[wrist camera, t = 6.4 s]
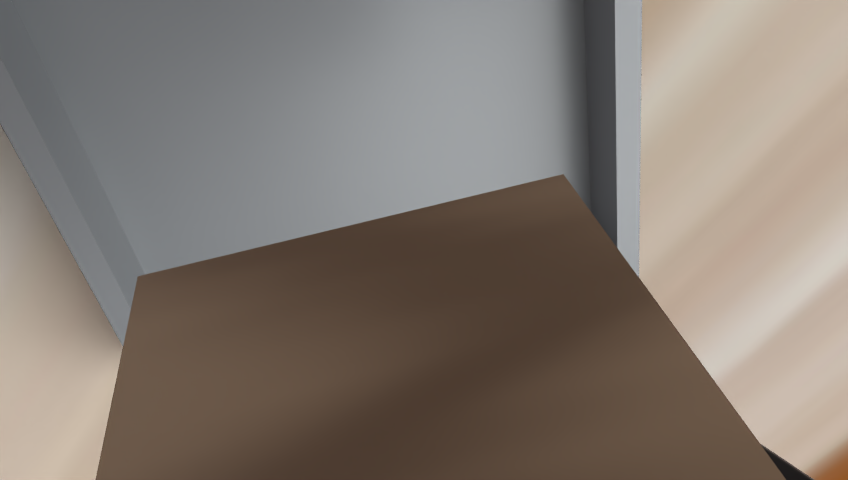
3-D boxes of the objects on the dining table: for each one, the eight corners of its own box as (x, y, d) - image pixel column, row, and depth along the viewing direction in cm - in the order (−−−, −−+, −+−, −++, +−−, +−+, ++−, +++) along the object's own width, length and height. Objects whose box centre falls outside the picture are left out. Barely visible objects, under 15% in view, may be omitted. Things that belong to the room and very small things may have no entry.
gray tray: (592, -282, 15) (644, -284, 13) (604, 247, 22) (638, 296, 20) (-83, -145, 14) (-136, -125, 12) (170, 357, 22) (162, 418, 20)
